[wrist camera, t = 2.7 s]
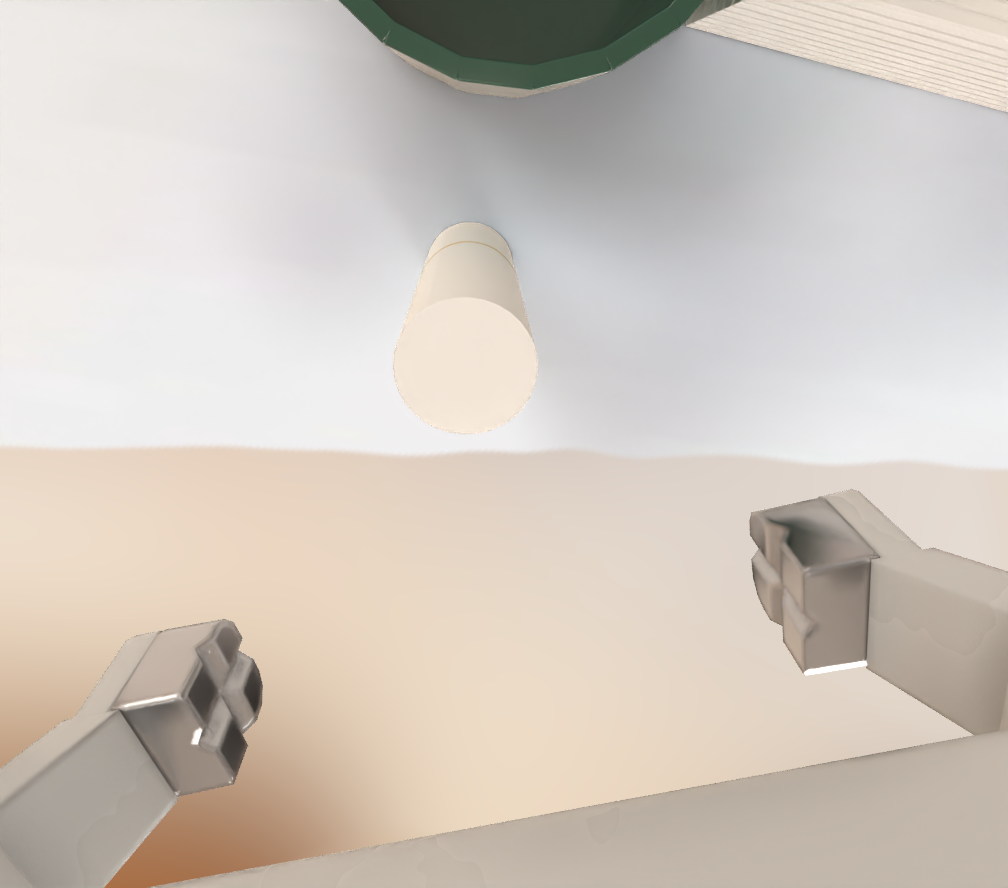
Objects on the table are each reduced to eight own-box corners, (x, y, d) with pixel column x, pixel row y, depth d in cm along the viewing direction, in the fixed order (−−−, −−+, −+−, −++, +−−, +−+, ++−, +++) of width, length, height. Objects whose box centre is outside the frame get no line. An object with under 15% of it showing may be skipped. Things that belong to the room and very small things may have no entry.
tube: (410, 251, 32) (363, 345, 19) (484, 204, 32) (491, 268, 18) (456, 324, 34) (443, 457, 21) (528, 281, 33) (563, 391, 20)
